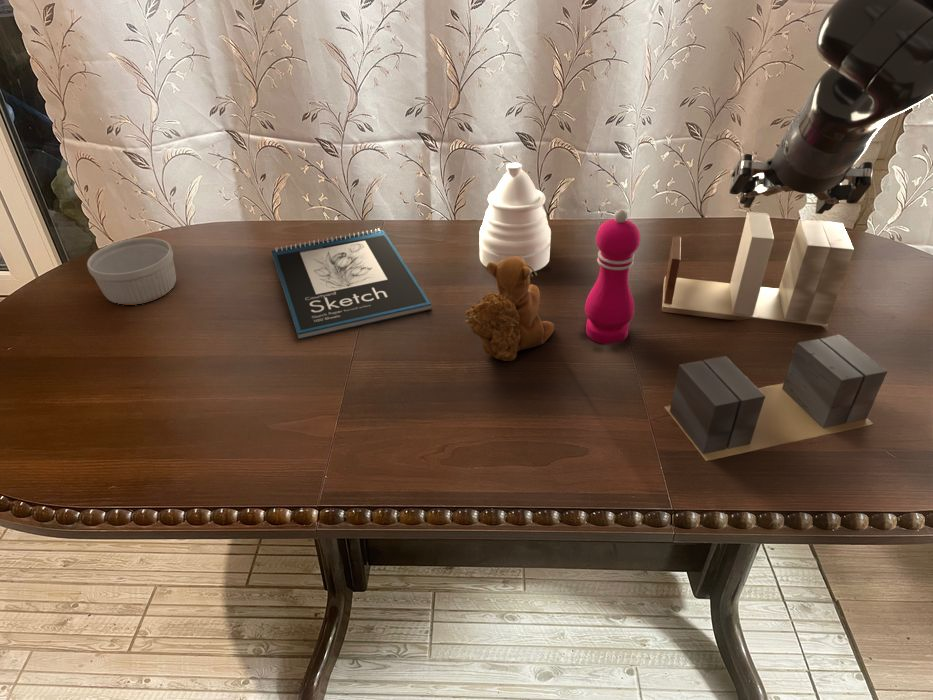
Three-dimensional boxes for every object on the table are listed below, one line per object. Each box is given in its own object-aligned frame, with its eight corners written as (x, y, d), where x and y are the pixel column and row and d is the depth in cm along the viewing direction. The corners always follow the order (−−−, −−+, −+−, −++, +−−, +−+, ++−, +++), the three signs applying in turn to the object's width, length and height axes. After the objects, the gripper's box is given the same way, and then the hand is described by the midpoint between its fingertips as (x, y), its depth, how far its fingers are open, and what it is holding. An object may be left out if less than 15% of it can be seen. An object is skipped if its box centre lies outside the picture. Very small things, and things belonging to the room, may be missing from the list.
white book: (749, 286, 108) (768, 213, 100) (753, 315, 101) (774, 238, 93) (729, 284, 108) (747, 211, 101) (732, 313, 101) (751, 236, 94)
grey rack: (816, 381, 89) (836, 329, 84) (871, 430, 81) (895, 376, 76) (662, 412, 84) (673, 359, 80) (704, 466, 77) (719, 412, 72)
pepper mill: (619, 317, 103) (635, 197, 91) (638, 343, 97) (658, 218, 85) (575, 323, 102) (586, 202, 90) (592, 350, 96) (606, 224, 84)
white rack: (816, 298, 106) (842, 221, 98) (825, 331, 98) (854, 251, 90) (663, 281, 112) (676, 207, 104) (661, 311, 104) (675, 234, 96)
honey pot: (542, 277, 114) (547, 178, 103) (471, 269, 117) (469, 171, 106) (555, 245, 123) (561, 151, 113) (489, 238, 127) (489, 146, 116)
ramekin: (191, 294, 112) (180, 258, 108) (109, 319, 106) (94, 282, 102) (171, 264, 121) (160, 230, 117) (94, 286, 115) (79, 251, 111)
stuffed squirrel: (557, 328, 101) (562, 252, 93) (519, 379, 91) (521, 298, 83) (499, 313, 105) (499, 238, 97) (456, 360, 95) (453, 281, 87)
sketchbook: (299, 341, 100) (296, 329, 99) (272, 256, 123) (270, 246, 122) (431, 310, 106) (431, 299, 105) (382, 234, 129) (381, 225, 128)
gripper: (902, 113, 67) (846, 180, 82) (753, 106, 70) (727, 172, 85) (896, 182, 65) (840, 237, 81) (745, 171, 69) (720, 226, 84)
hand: (782, 203), depth 83 cm, fingers open, 8 cm apart
